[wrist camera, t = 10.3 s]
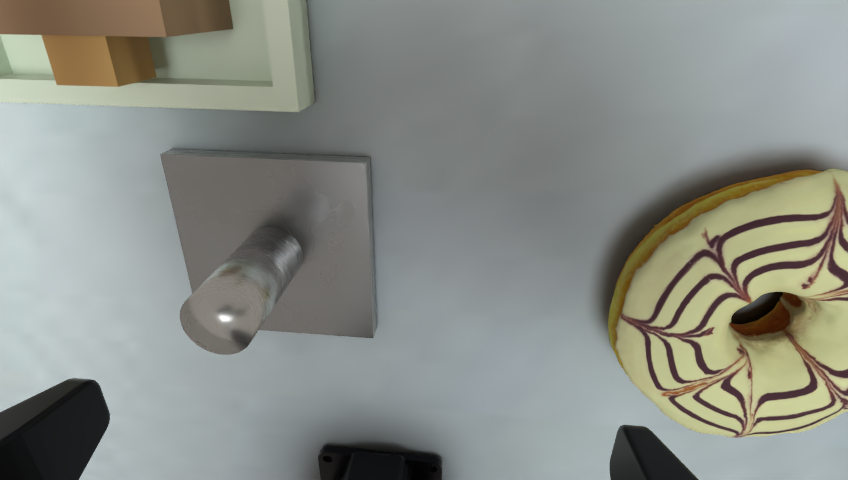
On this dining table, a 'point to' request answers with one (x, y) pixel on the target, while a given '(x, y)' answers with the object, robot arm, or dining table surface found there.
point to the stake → (273, 244)
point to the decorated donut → (733, 289)
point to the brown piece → (108, 33)
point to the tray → (189, 66)
